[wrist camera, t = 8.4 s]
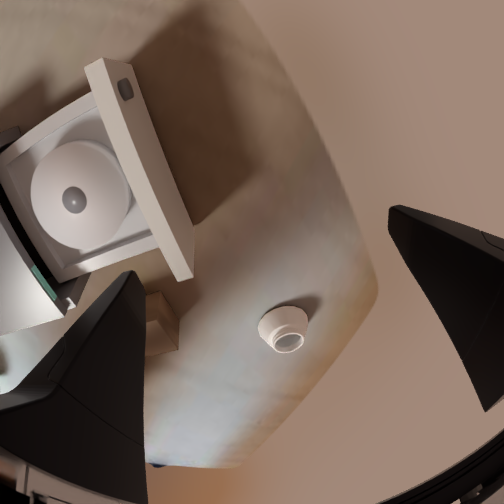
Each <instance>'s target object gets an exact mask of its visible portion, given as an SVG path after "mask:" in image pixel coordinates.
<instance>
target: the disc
mask: <svg viewBox="0 0 504 504" xmlns="http://www.w3.org/2000/svg"><path fill="white" fill-rule="evenodd" d="M131 197H132V190H131V187H130V185H129V183H128V181H127V178H126V176H125V174H124V172H123V169H122V167H121V165H120V162H119V160H118V158H117V155H116V153H115V152H114V151H113V150H112V149H110V148H109V147H107V146H106V145H104V144H102V143H100V142H97V141H94V140H89V139H78V140H73V141H70V142H67V143H65V144H64V145H62V146H60V147H58V148H56V149H54V150H52V151H51V152H49V153H48V154H47V155H46V156H45V157H44V158H43V159H42V160H41V161H40V163H39V164H38V166H37V168H36V169H35V172H34V175H33V178H32V182H31V202H32V206H33V210H34V213H35V215H36V217H37V219H38V221H39V223H40V224H41V226H42V227H43V229H44V230H45V231H46V232H47V233H48V234H49V235H50V236H51V237H52V238H54V239H55V240H56V241H58V242H59V243H61V244H63V245H66V246H68V247H72V248H76V249H90V248H95V247H98V246H101V245H103V244H105V243H106V242H107V241H109V240H110V239H111V238H112V237H113V236H114V235H115V234H116V233H117V231H118V230H119V228H120V226H121V224H122V222H123V220H124V219H125V217H126V215H127V213H128V210H129V207H130V204H131Z"/></svg>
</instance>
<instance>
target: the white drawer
mask: <svg viewBox="0 0 504 504" xmlns="http://www.w3.org/2000/svg"><path fill="white" fill-rule="evenodd" d="M84 69H85V72H86V75H87V78H88V81H89V84H90V87H91V90H92V91H91V92H89V93H88V94H86V95H84V96H82V97H80V98H79V99H77V100H75V101H74V102H72V103H70V104H69V105H67V106H65V107H64V108H62V109H61V110H59V111H58V112H56V113H54V114H53V115H51V116H50V117H48V118H47V119H45V120H44V121H43V122H41V123H40V124H38V125H37V126H35V127H34V128H33V129H31V130H30V131H29V132H27V133H26V134H25V135H23V136H22V137H21V138H19V139H18V140H17V141H16V142H14V143H13V144H12V145H11V146H9V147H8V148H7V149H6V150H5V151H3V152H2V153H1V154H0V182H1V184H2V187H3V189H4V191H5V193H6V195H7V197H8V199H9V201H10V203H11V205H12V207H13V209H14V211H15V213H16V215H17V217H18V219H19V220H20V222H21V224H22V226H23V228H24V229H25V231H26V233H27V235H28V236H29V238H30V240H31V241H32V243H33V245H34V246H35V248H36V250H37V251H38V253H39V254H40V256H41V257H42V259H43V261H44V262H45V264H46V265H47V267H48V268H49V270H50V271H51V273H52V274H53V276H54V277H55V278H56V280H57V281H58V283H59V284H60V283H62V282H65V281H67V280H70V279H73V278H75V277H78V276H80V275H83V274H86V273H88V272H91V271H94V270H96V269H99V268H102V267H105V266H107V265H110V264H113V263H116V262H118V261H121V260H124V259H127V258H129V257H132V256H135V255H138V254H141V253H144V252H146V251H149V250H152V249H155V248H158V247H159V248H160V249H161V251H162V253H163V255H164V257H165V259H166V261H167V263H168V265H169V267H170V269H171V270H172V272H173V274H174V276H175V278H176V280H177V281H178V282H180V281H183V280H187V279H190V278H193V277H194V246H195V229H194V227H193V225H192V222H191V220H190V217H189V215H188V213H187V210H186V208H185V205H184V203H183V201H182V198H181V196H180V193H179V191H178V188H177V186H176V183H175V181H174V178H173V176H172V173H171V171H170V168H169V166H168V163H167V161H166V158H165V156H164V153H163V150H162V148H161V145H160V143H159V140H158V137H157V135H156V132H155V129H154V127H153V124H152V121H151V118H150V116H149V113H148V110H147V107H146V105H145V102H144V99H143V96H142V93H141V91H140V88H139V85H138V82H137V79H136V76H135V73H134V70H133V67H132V65H131V64H127V63H123V62H119V61H115V60H111V59H107V58H100V59H99V60H97V61H95V62H93V63H91V64H89V65H88V66H86V67H84ZM78 139H89V140H94V141H97V142H100V143H102V144H104V145H106V146H107V147H109V148H110V149H112V150H113V151H114V152H115V153H116V155H117V158H118V160H119V162H120V165H121V167H122V169H123V172H124V174H125V176H126V178H127V181H128V183H129V185H130V187H131V190H132V197H131V204H130V207H129V210H128V213H127V215H126V217H125V219H124V220H123V222H122V224H121V226H120V228H119V230H118V231H117V233H116V234H115V235H114V236H113V237H112V238H111V239H110V240H109V241H107V242H106V243H105V244H103V245H101V246H98V247H95V248H90V249H76V248H72V247H68V246H66V245H63V244H61V243H59V242H58V241H56V240H55V239H54V238H52V237H51V236H50V235H49V234H48V233H47V232H46V231H45V230H44V229H43V227H42V226H41V224H40V223H39V221H38V219H37V217H36V215H35V213H34V210H33V206H32V202H31V182H32V178H33V175H34V172H35V169H36V168H37V166H38V164H39V163H40V161H41V160H42V159H43V158H44V157H45V156H46V155H47V154H48V153H49V152H51V151H52V150H54V149H56V148H58V147H60V146H62V145H64V144H65V143H67V142H70V141H73V140H78Z"/></svg>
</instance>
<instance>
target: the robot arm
mask: <svg viewBox="0 0 504 504" xmlns="http://www.w3.org/2000/svg"><path fill="white" fill-rule="evenodd" d="M388 231H389V234H390V235H391V238H392V239H393V241H394V243H395V245H396V247H397V248H398V250H399V252H400V254H401V256H402V258H403V259H404V261H405V263H406V265H407V266H408V268H409V270H410V271H411V273H412V274H413V276H414V277H415V279H416V280H417V282H418V284H419V285H420V287H421V288H422V290H423V292H424V293H425V295H426V297H427V298H428V300H429V302H430V303H431V305H432V307H433V308H434V310H435V312H436V313H437V315H438V317H439V319H440V320H441V322H442V324H443V325H444V327H445V329H446V331H447V333H448V335H449V337H450V339H451V341H452V342H453V344H454V346H455V348H456V350H457V352H458V354H459V356H460V358H461V360H463V361H462V362H463V364H464V367H465V369H466V371H467V373H468V375H469V377H470V379H471V382H472V384H473V386H474V388H475V390H476V393H477V395H478V398H479V400H480V402H481V404H482V407H483V409H484V411H485V412H487V411H488V410H490V409H491V408H492V407H494V406H495V405H496V404H497V403H498V402H500V401H501V400H502V399H504V239H503V238H500V237H497V236H494V235H492V234H489V233H486V232H483V231H481V232H480V231H479V230H478V229H475V228H472V227H469V226H466V225H464V224H461V223H458V222H455V221H452V220H449V219H446V218H443V217H439V216H436V215H433V214H430V213H426V212H423V211H420V210H416V209H413V208H410V207H406V206H403V205H396V206H392V207H390V208H389V216H388ZM145 347H146V293H145V289H144V287H143V285H142V283H141V281H140V280H139V278H138V276H137V274H136V272H135V271H133V270H130V271H126V272H123V273H122V274H121V275H120V276H119V277H118V278H117V279H116V280H115V281H114V282H113V283H112V284H111V285H110V286H109V287H108V288H107V289H106V290H105V291H104V292H103V293H102V294H101V295H100V296H99V297H98V298H97V299H96V300H95V301H94V302H93V303H92V304H91V306H90V307H89V308H88V309H87V310H86V311H85V312H84V313H83V314H82V315H81V316H80V317H79V318H78V320H77V321H76V322H75V323H74V324H73V325H72V326H71V327H70V328H69V330H68V331H67V332H66V333H65V334H64V337H61V339H60V340H59V341H58V342H57V343H56V344H55V345H54V347H53V348H52V349H51V350H50V351H49V352H48V353H47V354H46V356H45V357H44V358H43V359H42V360H41V361H40V362H39V363H38V364H37V365H36V366H35V367H34V368H33V369H32V371H31V372H30V373H29V374H28V375H27V376H26V377H25V378H24V379H23V380H22V381H21V383H20V384H19V385H18V386H17V387H16V388H14V389H13V390H11V391H10V392H8V393H5V394H1V395H0V504H119V503H121V504H148V495H147V484H146V470H145V451H144V419H143V404H144V366H145ZM458 499H460V502H461V503H460V504H504V429H503V430H501V431H500V432H499V433H498V434H496V435H495V436H494V437H493V438H491V439H490V440H489V441H487V442H486V443H485V444H483V445H482V446H481V447H479V448H478V449H476V450H475V451H474V452H472V453H471V454H469V455H468V456H466V457H465V458H463V459H462V460H460V461H459V462H457V463H456V464H454V465H452V466H451V467H449V468H447V469H446V470H444V471H442V472H441V473H439V474H437V475H435V476H434V477H432V478H430V479H428V480H426V481H424V482H423V483H420V484H418V485H417V486H415V487H413V488H411V489H408V490H406V491H404V492H402V493H400V494H398V495H395V496H393V497H391V498H388V499H386V500H383V501H381V502H379V503H376V504H451V503H453V502H454V501H456V500H458Z"/></svg>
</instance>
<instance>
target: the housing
mask: <svg viewBox="0 0 504 504" xmlns="http://www.w3.org/2000/svg"><path fill="white" fill-rule="evenodd" d="M21 137H22V136H21V134H20V131H19V128H18V126H16V127H14V128H11V129H8V130H6V131H3V132H1V133H0V154H1V153H2V152H3V151H5V150H6V149H7V148H8V147H9V146H11V145H12V144H13V143H14V142H16V141H17V140H18V139H19V138H21ZM90 274H91V272H88V273H86V274H83V275H80V276H78V277H75V278H73V279H70V280H67V281H65V282H62V283H60V284H59V283H58V281H57V280H56V278H55V277H54V276H52V277H50V278H48V279H44V277H43V276H42V274H41V273H40V271H39V270H38V269H37V267H36V266H35V264H34V262H33V261H32V259H31V258H30V256H29V255H28V253H27V252H26V250H25V248H24V247H23V245H22V243H21V242H20V240H19V238H18V237H17V235H16V233H15V231H14V230H13V228H12V226H11V224H10V222H9V221H8V219H7V217H6V215H5V213H4V211H3V209H2V207H1V205H0V336H1V335H4V334H8V333H11V332H15V331H18V330H22V329H25V328H28V327H32V326H35V325H39V324H42V323H45V322H49V321H52V320H56V319H59V318H62V317H65V314H66V312H67V310H68V309H71V308H74V307H76V306H77V304H78V302H79V299H80V297H81V295H82V292H83V290H84V288H85V285H86V283H87V281H88V279H89V276H90Z"/></svg>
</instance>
